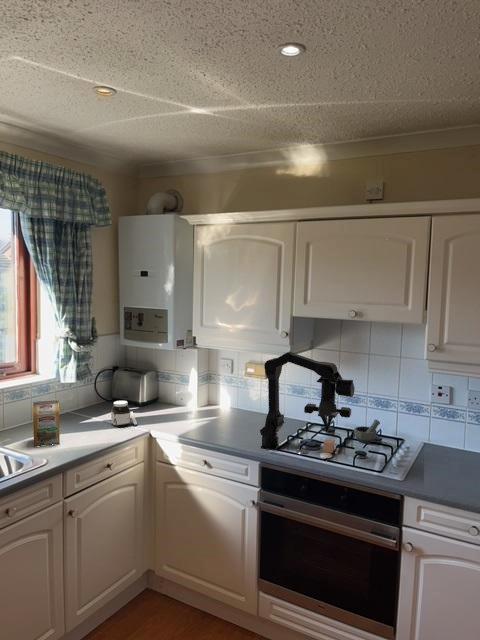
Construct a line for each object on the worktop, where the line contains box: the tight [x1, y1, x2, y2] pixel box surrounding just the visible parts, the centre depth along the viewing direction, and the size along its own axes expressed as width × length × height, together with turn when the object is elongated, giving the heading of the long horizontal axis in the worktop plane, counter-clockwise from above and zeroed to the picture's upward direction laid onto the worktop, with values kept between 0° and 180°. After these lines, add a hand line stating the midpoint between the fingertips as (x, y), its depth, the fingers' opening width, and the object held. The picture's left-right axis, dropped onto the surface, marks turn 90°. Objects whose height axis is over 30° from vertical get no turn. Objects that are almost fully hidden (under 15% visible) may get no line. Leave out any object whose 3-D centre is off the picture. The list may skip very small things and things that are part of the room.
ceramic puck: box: [319, 452, 333, 459], centre depth 204 cm, size 5×5×2 cm
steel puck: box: [296, 449, 310, 456], centre depth 207 cm, size 5×5×2 cm
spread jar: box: [110, 400, 138, 428], centre depth 246 cm, size 12×11×12 cm
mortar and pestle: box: [353, 419, 381, 445], centre depth 221 cm, size 11×9×12 cm
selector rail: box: [294, 442, 340, 455], centre depth 212 cm, size 18×6×2 cm, turn 70°
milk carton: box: [32, 399, 61, 447], centre depth 219 cm, size 11×11×19 cm
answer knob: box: [323, 438, 335, 453], centre depth 210 cm, size 4×4×4 cm
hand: (327, 430), depth 203 cm, fingers closed
